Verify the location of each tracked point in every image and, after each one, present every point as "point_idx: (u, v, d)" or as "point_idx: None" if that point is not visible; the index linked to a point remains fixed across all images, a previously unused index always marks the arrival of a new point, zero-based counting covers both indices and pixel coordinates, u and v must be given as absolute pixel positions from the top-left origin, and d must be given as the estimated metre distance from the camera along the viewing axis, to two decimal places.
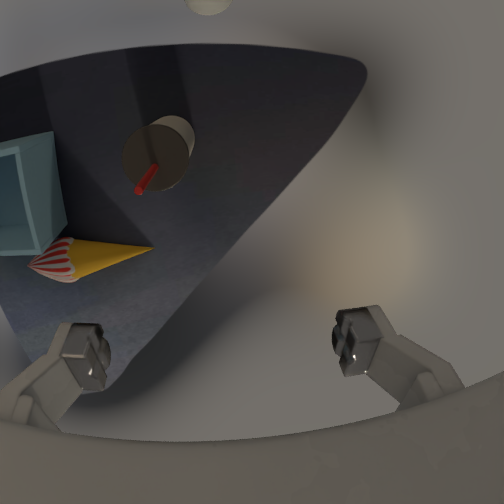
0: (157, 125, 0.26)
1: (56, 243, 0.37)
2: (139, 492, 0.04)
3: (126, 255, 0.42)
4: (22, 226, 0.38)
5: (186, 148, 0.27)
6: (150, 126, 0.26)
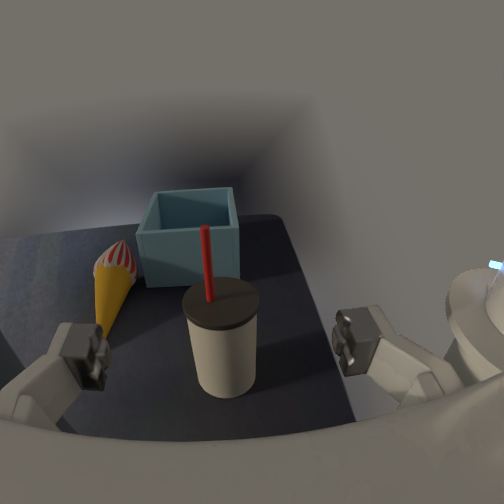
0: (258, 300, 0.26)
1: (135, 264, 0.43)
2: (139, 492, 0.04)
3: (100, 321, 0.35)
4: None
5: (232, 323, 0.24)
6: (257, 294, 0.27)
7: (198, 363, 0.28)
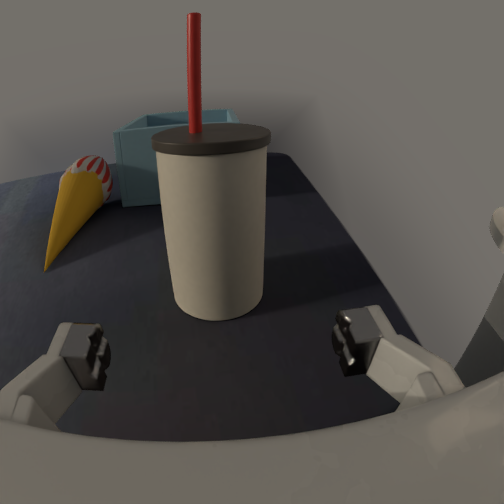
0: (269, 132, 0.16)
1: (109, 175, 0.33)
2: (139, 492, 0.04)
3: (54, 232, 0.25)
4: None
5: (228, 142, 0.14)
6: (266, 129, 0.17)
7: (171, 250, 0.18)
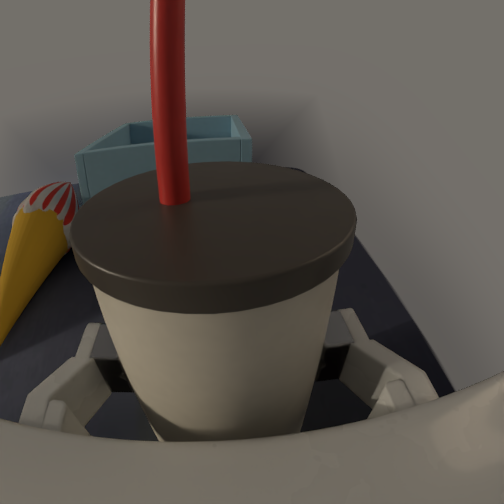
0: None
1: (75, 211, 0.24)
2: (139, 492, 0.04)
3: None
4: None
5: (268, 274, 0.05)
6: (338, 191, 0.08)
7: (146, 416, 0.09)
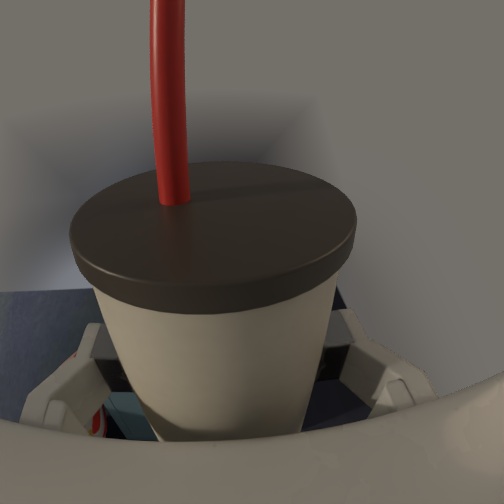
0: None
1: (100, 411, 0.20)
2: (139, 492, 0.04)
3: None
4: None
5: (268, 275, 0.05)
6: (338, 191, 0.08)
7: None
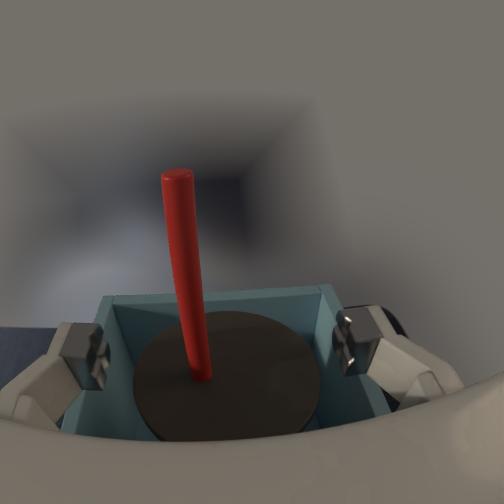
0: (318, 373, 0.10)
1: None
2: (139, 492, 0.04)
3: None
4: None
5: None
6: (313, 358, 0.11)
7: None
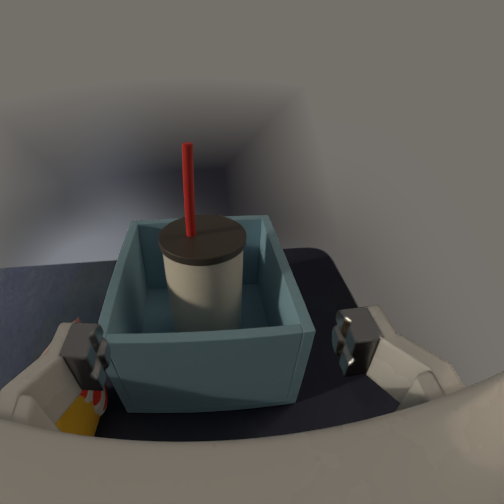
0: (245, 235, 0.23)
1: None
2: (139, 492, 0.04)
3: None
4: (139, 332, 0.27)
5: (216, 257, 0.21)
6: (243, 230, 0.24)
7: (175, 314, 0.25)
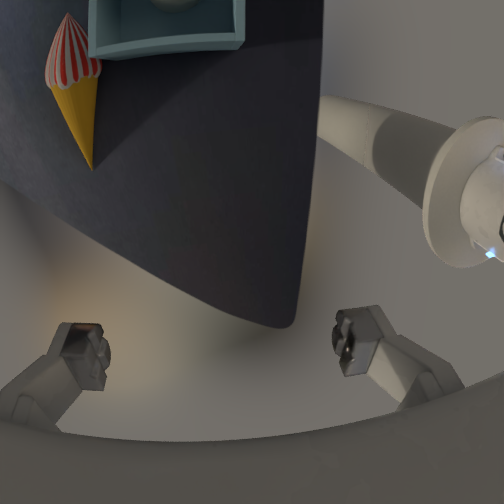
0: None
1: None
2: (139, 492, 0.04)
3: (82, 144, 0.31)
4: None
5: None
6: None
7: None
